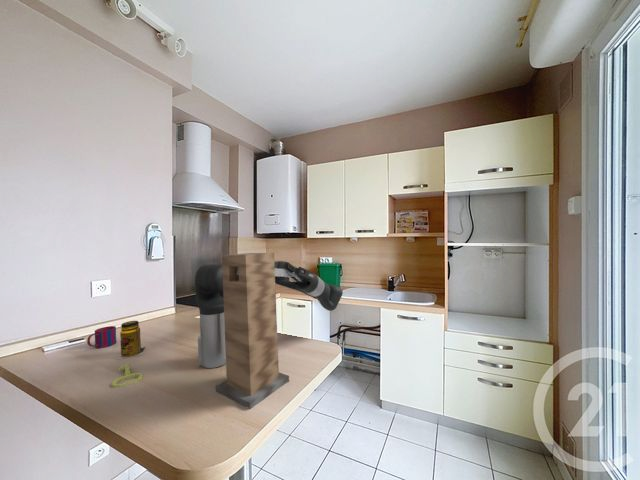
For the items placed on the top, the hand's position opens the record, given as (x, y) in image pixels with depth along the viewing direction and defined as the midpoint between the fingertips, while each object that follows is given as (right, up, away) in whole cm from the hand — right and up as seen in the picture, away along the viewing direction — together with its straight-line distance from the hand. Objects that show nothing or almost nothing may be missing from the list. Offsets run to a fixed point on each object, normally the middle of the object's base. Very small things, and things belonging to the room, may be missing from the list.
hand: (281, 264), depth 81 cm
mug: (-78, -36, +22) cm, 88 cm away
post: (-6, -33, -11) cm, 35 cm away
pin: (-3, -3, -4) cm, 6 cm away
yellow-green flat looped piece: (-48, -35, -3) cm, 59 cm away
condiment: (-59, -36, +14) cm, 71 cm away
